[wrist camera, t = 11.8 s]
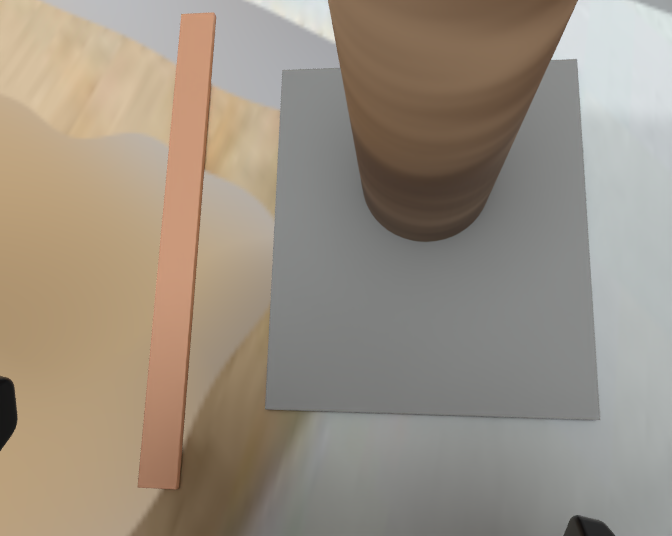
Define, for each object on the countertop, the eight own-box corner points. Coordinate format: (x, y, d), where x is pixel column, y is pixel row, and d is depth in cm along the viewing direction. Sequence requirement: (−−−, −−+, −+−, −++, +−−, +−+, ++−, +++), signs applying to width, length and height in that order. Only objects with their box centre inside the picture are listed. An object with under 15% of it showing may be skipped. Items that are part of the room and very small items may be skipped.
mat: (596, 419, 21) (600, 419, 21) (267, 409, 22) (265, 409, 22) (574, 64, 24) (576, 59, 23) (284, 74, 25) (282, 70, 25)
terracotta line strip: (178, 488, 22) (175, 489, 22) (140, 486, 22) (137, 487, 22) (216, 16, 26) (213, 12, 26) (183, 18, 26) (181, 14, 26)
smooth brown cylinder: (440, 267, 22) (504, 68, 9) (337, 194, 23) (248, -85, 10) (515, 166, 23) (688, -172, 9) (411, 99, 24) (426, -293, 10)
